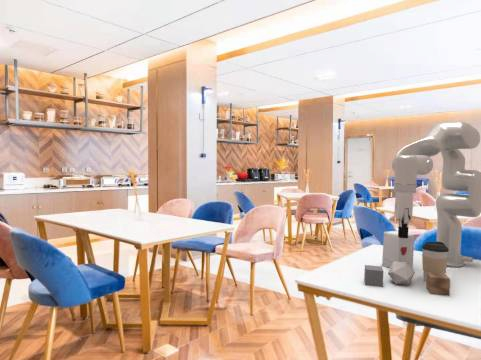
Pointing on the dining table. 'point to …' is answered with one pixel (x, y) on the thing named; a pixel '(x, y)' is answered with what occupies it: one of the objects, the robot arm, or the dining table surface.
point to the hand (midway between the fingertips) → (402, 237)
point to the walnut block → (438, 284)
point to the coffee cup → (434, 258)
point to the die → (401, 273)
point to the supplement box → (397, 249)
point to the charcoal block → (373, 276)
